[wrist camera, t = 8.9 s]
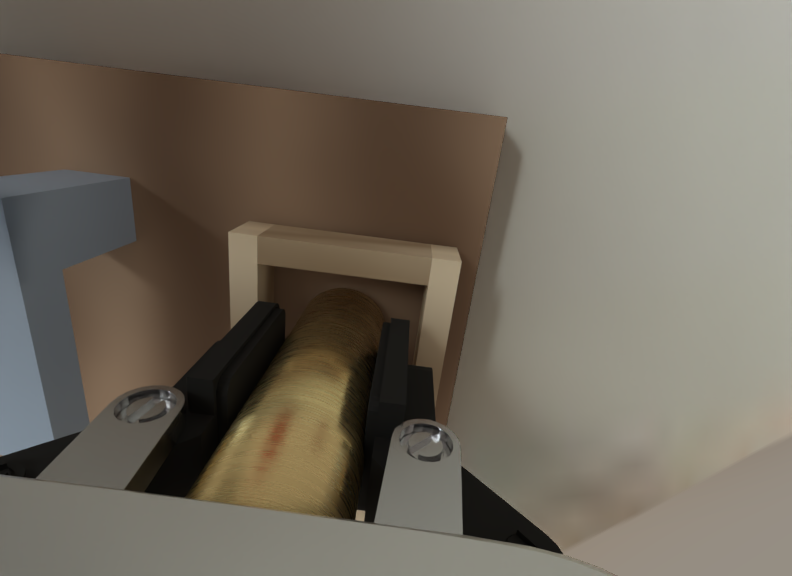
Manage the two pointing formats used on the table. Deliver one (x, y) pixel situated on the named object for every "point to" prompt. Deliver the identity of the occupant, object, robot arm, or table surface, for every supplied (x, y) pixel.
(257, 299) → the link
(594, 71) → the table surface
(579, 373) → the table surface
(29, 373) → the bracket
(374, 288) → the base plate
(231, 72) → the table surface
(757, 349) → the table surface
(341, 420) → the pin
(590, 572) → the robot arm
